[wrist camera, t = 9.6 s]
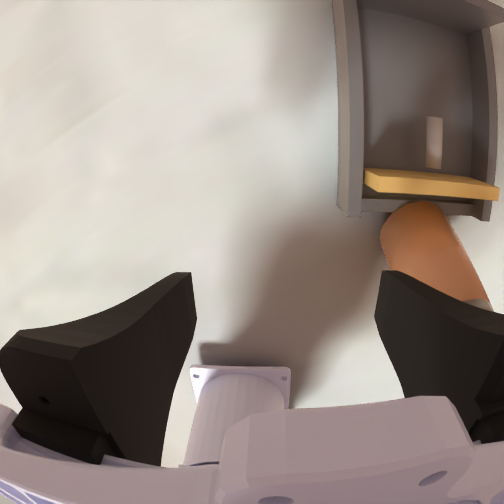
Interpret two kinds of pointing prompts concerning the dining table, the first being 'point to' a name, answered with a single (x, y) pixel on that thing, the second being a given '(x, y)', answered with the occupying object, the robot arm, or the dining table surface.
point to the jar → (431, 252)
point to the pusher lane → (414, 96)
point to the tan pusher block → (429, 174)
